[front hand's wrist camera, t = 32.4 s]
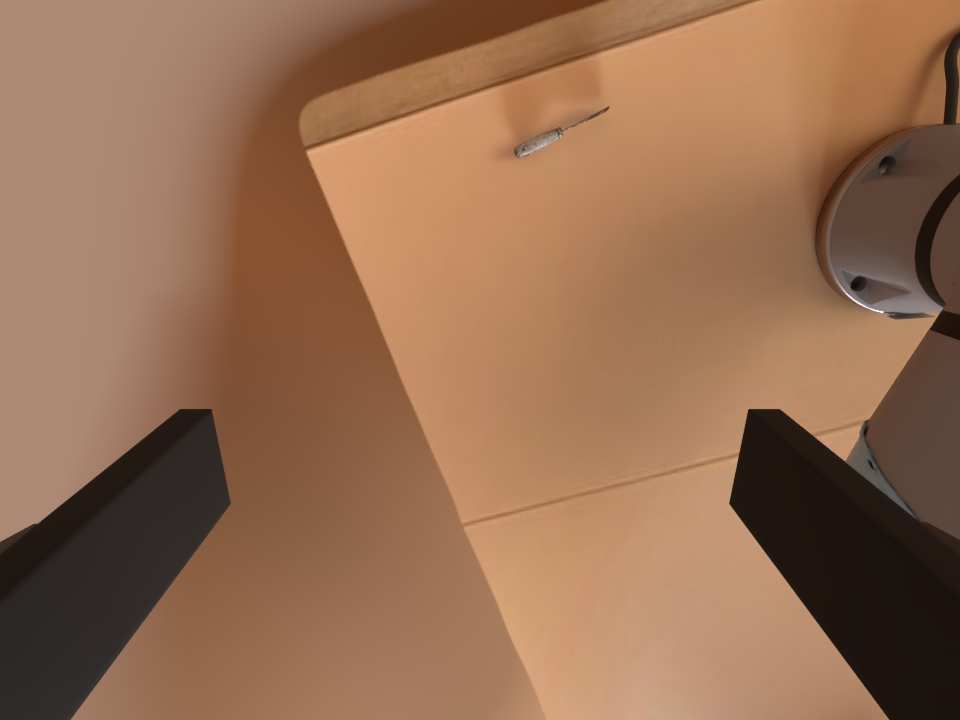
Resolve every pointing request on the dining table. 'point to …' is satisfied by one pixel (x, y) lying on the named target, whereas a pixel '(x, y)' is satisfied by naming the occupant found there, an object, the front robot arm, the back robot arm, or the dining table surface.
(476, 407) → the dining table surface
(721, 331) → the dining table surface
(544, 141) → the putty knife
